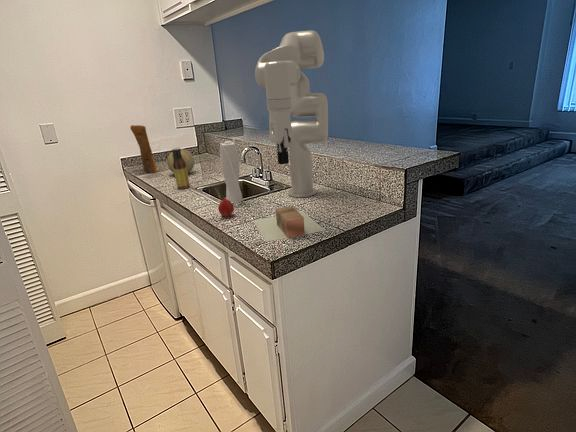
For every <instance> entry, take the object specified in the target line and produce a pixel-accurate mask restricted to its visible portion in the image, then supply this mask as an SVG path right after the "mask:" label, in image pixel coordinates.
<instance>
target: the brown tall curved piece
mask: <svg viewBox="0 0 576 432" xmlns="http://www.w3.org/2000/svg"><path fill="white" fill-rule="evenodd" d="M129 128H130V130H131V132H132V133H133V136H134V138H135V140H136V142H137V145H138V147H139V151H140V156H141V161H142V166H143V171H144V172H146V173H149V174H156V173H157V172H158V168H157V164H156V161H155V158H154V155H153V151H152V147H151V145H150V140H149V137H148V134H147V128H146V126H144V125H137V124H136V125H134V124H133V125H130V127H129Z"/></svg>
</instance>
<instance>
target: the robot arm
mask: <svg viewBox="0 0 576 432" xmlns="http://www.w3.org/2000/svg"><path fill="white" fill-rule="evenodd" d="M318 33H319V32H317V31H315V30H313V29H312V30H301V31H291V32H287V33H285V35H284V36H283V37H282V39H281V41H280V43H279V46H278V47H275V48H273V49H272V50H270V51H267V52H265V53H263V54H262V55H261V57H259V59H258V61H257V63H256V65H255V70H254V71H255V72H254V77H255V81H256V84H257V85H258V86H259V87H260V88H265V94H266V95H265V96H266V107H267V108H266V109H267V111H268V125H269V130H268V131H269V139H270V141H271V142H273V143H275V144H276V155H277V156H276V157H277V163H278V164H279V165H280V166H281V165H286V164H287V165H288V164H289V165H290V167H289V168H290V169H289V170H290V186H291V189H289V190H288V196H290V197H292V198H293V197H294V198H309V197H313V196H315V195H316V194H317V193H318V192H317V191H318V190H317V189H316V188H315V187H314V181H313V178H314V177H313V176H314V175H313V155H312V151H311V150H310V148H309V147H308V146H307V145H306V144H323V143H325V142H326V141H327V140H328V136H329V108H328V107H329V105H328V97H327V95H325V94H324V93H322V92H310V89H311V88H310V80H309V78H308V77H307V76H306V75H305V73H304V72H303V71H301V70H308V69H309V70H310V69H319V68H321V67H322V66H323V65H324V62H325V53H324V51H325V50H324V48H323V43H322V40H321V37H320V35H319V34H318ZM291 116H292V117H294V118H298V119H299V118H316V119H305V120H302V119H301V120H298V119H297V120H292V119H291ZM291 120H292V121H291ZM312 195H313V196H312Z"/></svg>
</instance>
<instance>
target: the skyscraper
mask: <svg viewBox="0 0 576 432" xmlns="http://www.w3.org/2000/svg"><path fill="white" fill-rule="evenodd" d="M219 146H220V147H219V148H220V149H219V153H220V155H219V156H220V157H219V158H220V168H221V172H222V175H223V179H224V183H225V185H226V187H225V188H226V191H225V194H226V196H225V198H226V199H227V200H229V201H230V202H233V203H234V204H235V205H236V204H238V203H239V202H241V201H243V200H244V199H243V198H244V197H243V195H242V191H241V188H240V184H239V180H240V168H241V167H240V158H239V154H238V149H237V146H236V139H235V137H232V141H231V140H227V141H224V143H222V142H220V143H219ZM235 205H234V206H235ZM238 205H239V204H238Z"/></svg>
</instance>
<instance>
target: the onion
mask: <svg viewBox="0 0 576 432" xmlns="http://www.w3.org/2000/svg"><path fill="white" fill-rule="evenodd" d="M234 206H235V205H233V204H232V203H231V202H230V201H229V200H227V199H226V197H224V198H223V199H222V200H221V201H220V203H219V204H218V212H219V213H220V215H222V216H223V217H224V218H229V217H230V216H231V215H232V214H233V213H234V210H235V207H234Z"/></svg>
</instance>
